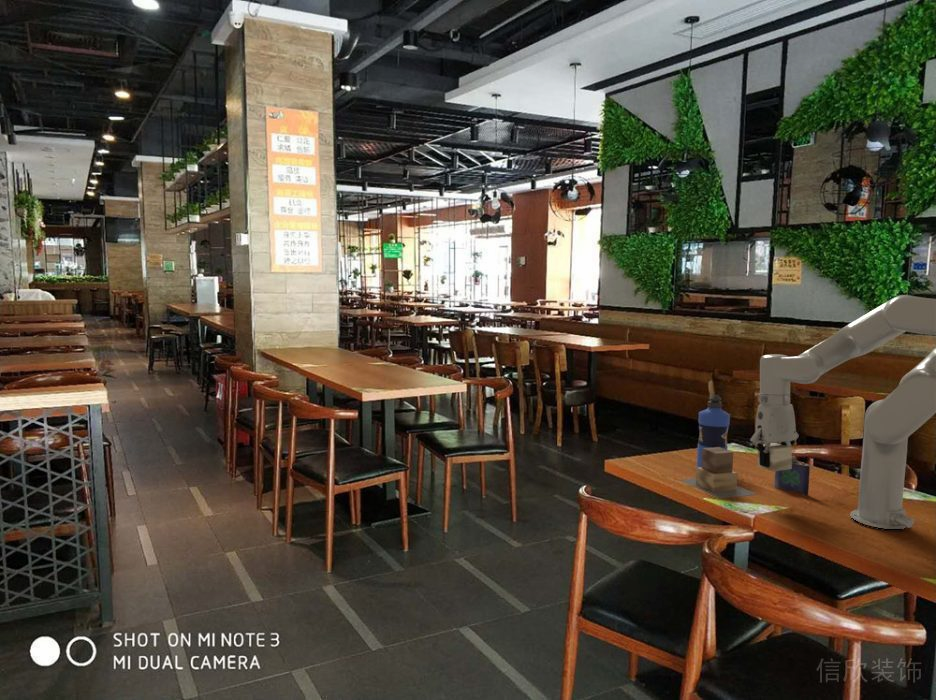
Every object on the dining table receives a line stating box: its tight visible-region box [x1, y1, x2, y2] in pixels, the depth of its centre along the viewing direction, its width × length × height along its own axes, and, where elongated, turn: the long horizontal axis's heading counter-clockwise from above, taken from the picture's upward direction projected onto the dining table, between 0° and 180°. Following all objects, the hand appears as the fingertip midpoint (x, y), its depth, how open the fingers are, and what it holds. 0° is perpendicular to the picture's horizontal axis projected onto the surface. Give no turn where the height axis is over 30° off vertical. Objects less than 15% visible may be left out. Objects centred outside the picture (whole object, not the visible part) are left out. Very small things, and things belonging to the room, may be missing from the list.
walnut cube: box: [702, 447, 734, 474], centre depth 195 cm, size 6×6×6 cm
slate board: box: [680, 477, 758, 499], centre depth 196 cm, size 18×13×1 cm
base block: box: [695, 467, 738, 492], centre depth 195 cm, size 8×8×5 cm
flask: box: [773, 455, 811, 496], centre depth 194 cm, size 9×3×11 cm, turn 50°
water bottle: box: [696, 394, 731, 469], centre depth 213 cm, size 9×9×25 cm
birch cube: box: [757, 443, 793, 472], centre depth 182 cm, size 6×6×6 cm
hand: (774, 464), depth 183 cm, fingers closed on birch cube, 6 cm apart
